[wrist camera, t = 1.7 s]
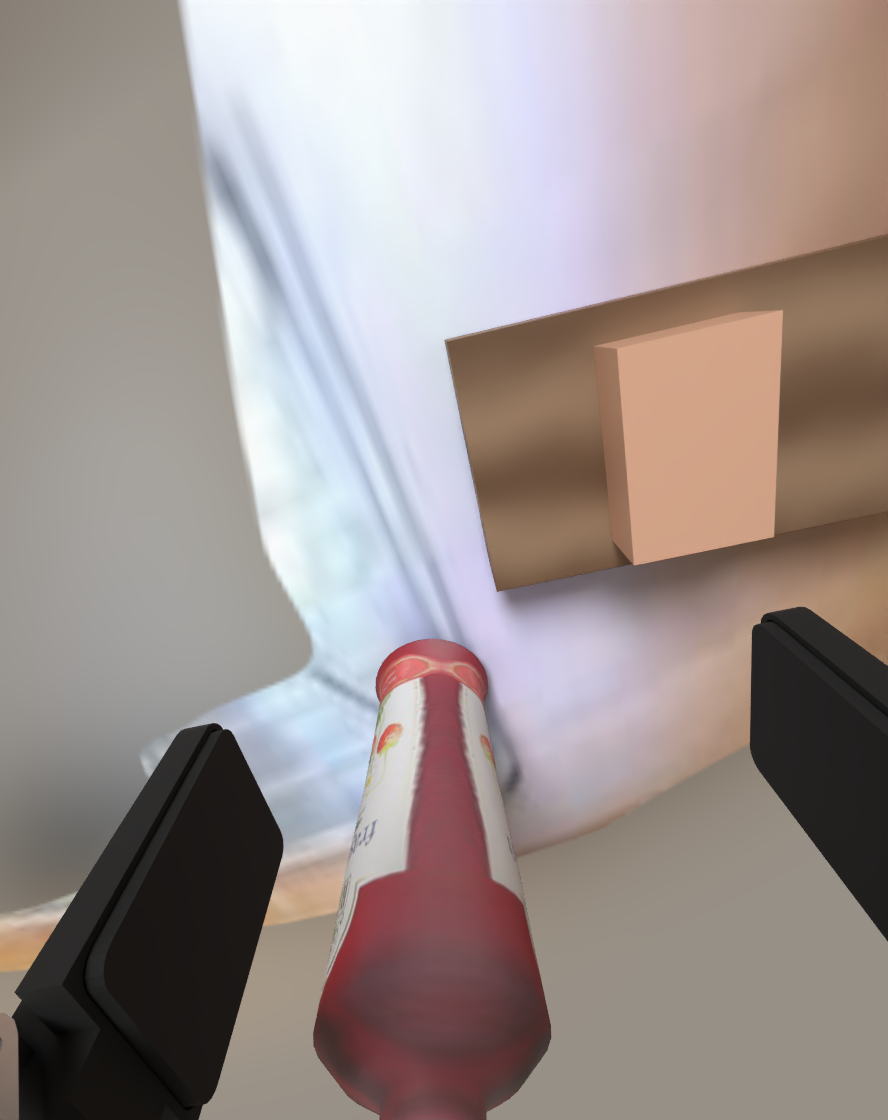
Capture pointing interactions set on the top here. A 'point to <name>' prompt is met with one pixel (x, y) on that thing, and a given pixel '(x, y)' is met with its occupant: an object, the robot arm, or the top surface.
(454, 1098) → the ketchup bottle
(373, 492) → the top surface
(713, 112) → the top surface
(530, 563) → the brown wooden flat block
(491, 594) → the top surface
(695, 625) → the top surface
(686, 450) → the tan rectangular block
